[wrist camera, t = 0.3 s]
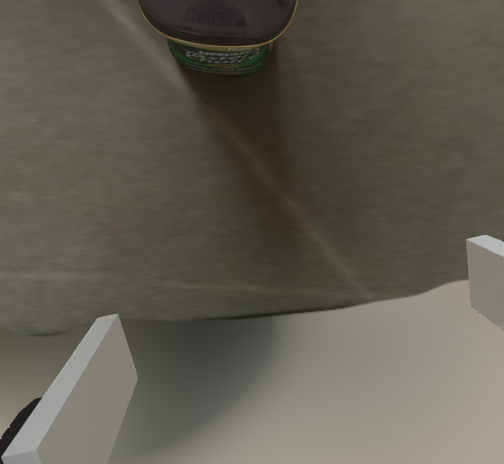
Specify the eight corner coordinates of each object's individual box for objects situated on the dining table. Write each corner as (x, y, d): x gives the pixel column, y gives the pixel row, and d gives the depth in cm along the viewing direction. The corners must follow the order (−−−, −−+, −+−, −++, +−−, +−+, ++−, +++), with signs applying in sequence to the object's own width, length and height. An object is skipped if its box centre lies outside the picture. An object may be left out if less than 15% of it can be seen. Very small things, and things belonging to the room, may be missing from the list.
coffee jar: (168, 73, 39) (114, 24, 21) (170, -22, 37) (113, -166, 19) (270, 81, 39) (305, 42, 21) (278, -11, 37) (323, -140, 19)
